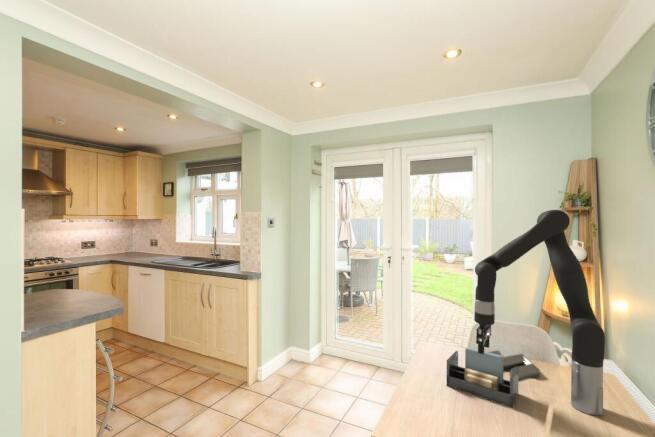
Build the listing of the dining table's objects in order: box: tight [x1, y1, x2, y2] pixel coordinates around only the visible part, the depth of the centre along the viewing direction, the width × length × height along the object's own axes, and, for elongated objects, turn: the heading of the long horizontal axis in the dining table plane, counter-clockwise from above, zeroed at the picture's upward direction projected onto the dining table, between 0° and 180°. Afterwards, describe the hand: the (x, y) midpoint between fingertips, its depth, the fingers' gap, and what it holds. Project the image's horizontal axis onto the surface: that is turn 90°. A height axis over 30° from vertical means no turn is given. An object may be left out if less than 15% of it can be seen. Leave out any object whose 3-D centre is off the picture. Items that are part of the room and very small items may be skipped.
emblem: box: [488, 350, 541, 381], centre depth 151 cm, size 28×5×28 cm
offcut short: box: [467, 374, 493, 389], centre depth 127 cm, size 9×2×6 cm, turn 51°
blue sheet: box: [464, 347, 505, 384], centre depth 133 cm, size 14×2×14 cm, turn 51°
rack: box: [446, 350, 519, 409], centre depth 130 cm, size 24×12×12 cm, turn 51°
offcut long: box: [465, 368, 498, 391], centre depth 129 cm, size 12×2×7 cm, turn 51°
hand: (483, 350), depth 133 cm, fingers open, 8 cm apart
